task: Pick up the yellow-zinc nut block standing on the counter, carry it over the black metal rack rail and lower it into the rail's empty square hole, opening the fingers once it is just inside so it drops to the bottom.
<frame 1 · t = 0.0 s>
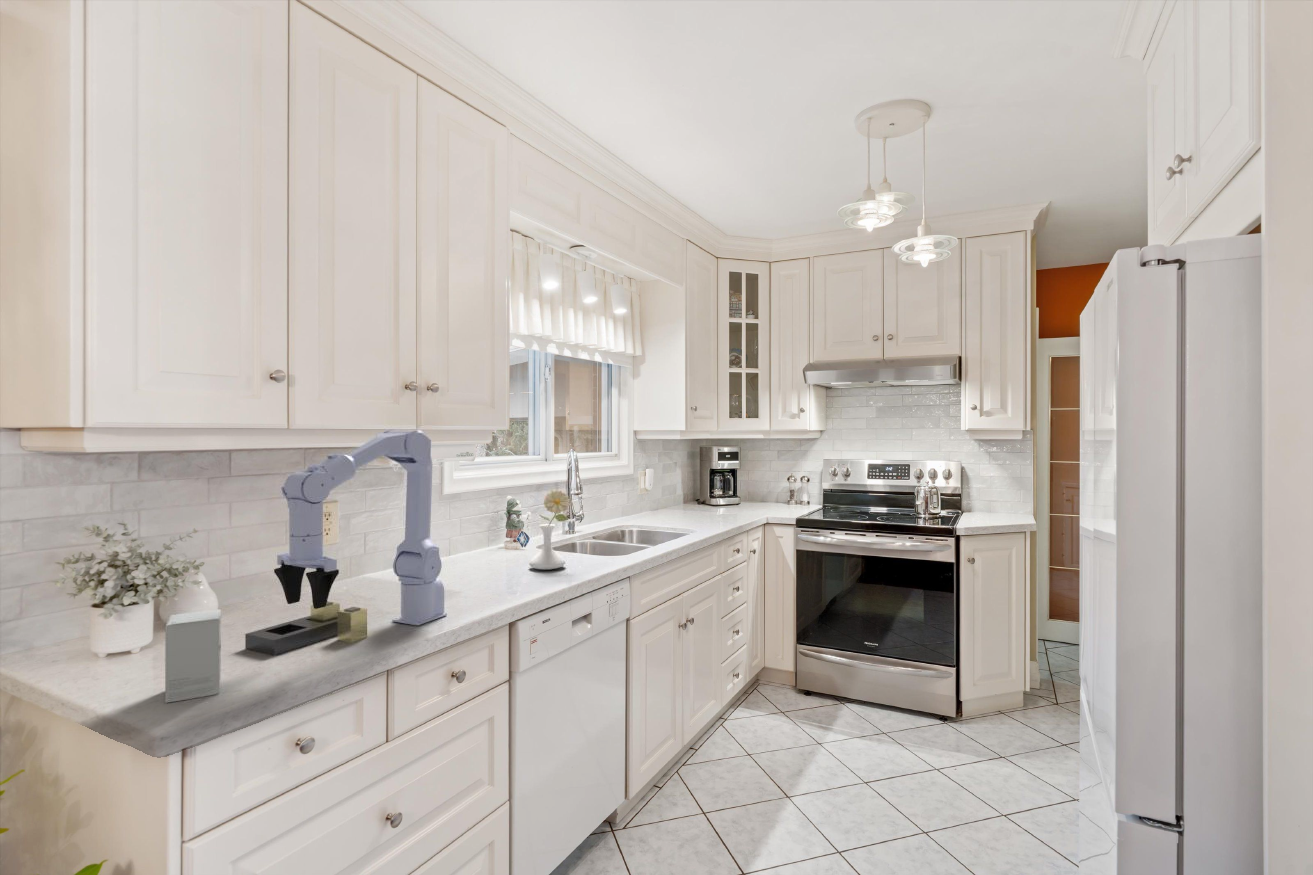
hand: (306, 605, 125), 10 cm above the countertop, fingers open, 7 cm apart
supplement box: (194, 692, 109), on the countertop
nut block: (352, 638, 137), on the countertop
rack rail: (306, 637, 137), on the countertop
flower in vase: (549, 569, 207), on the countertop
seated nut: (325, 631, 141), resting in rack rail
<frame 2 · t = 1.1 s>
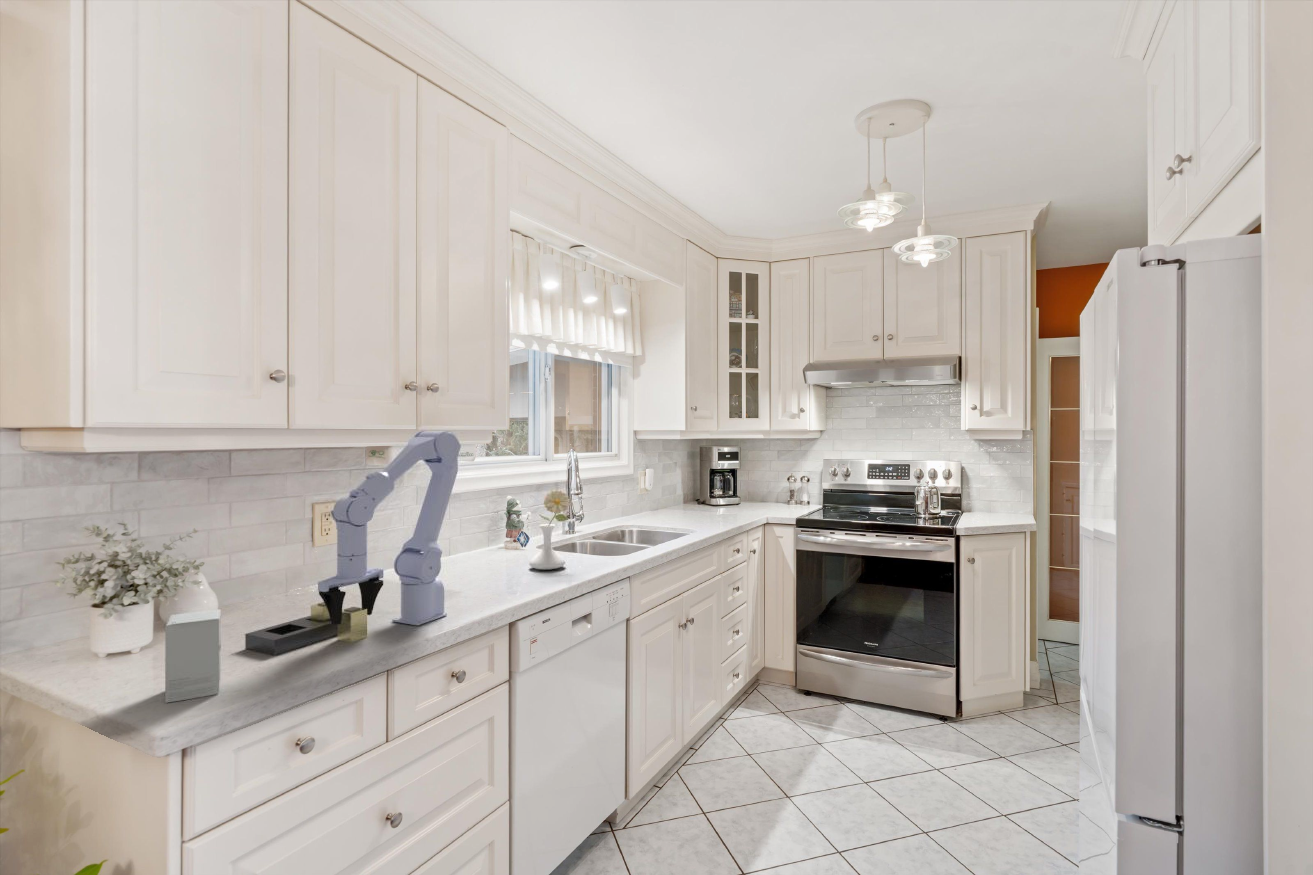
hand: (352, 618, 137), 4 cm above the countertop, fingers open, 7 cm apart
nothing on the countertop moved.
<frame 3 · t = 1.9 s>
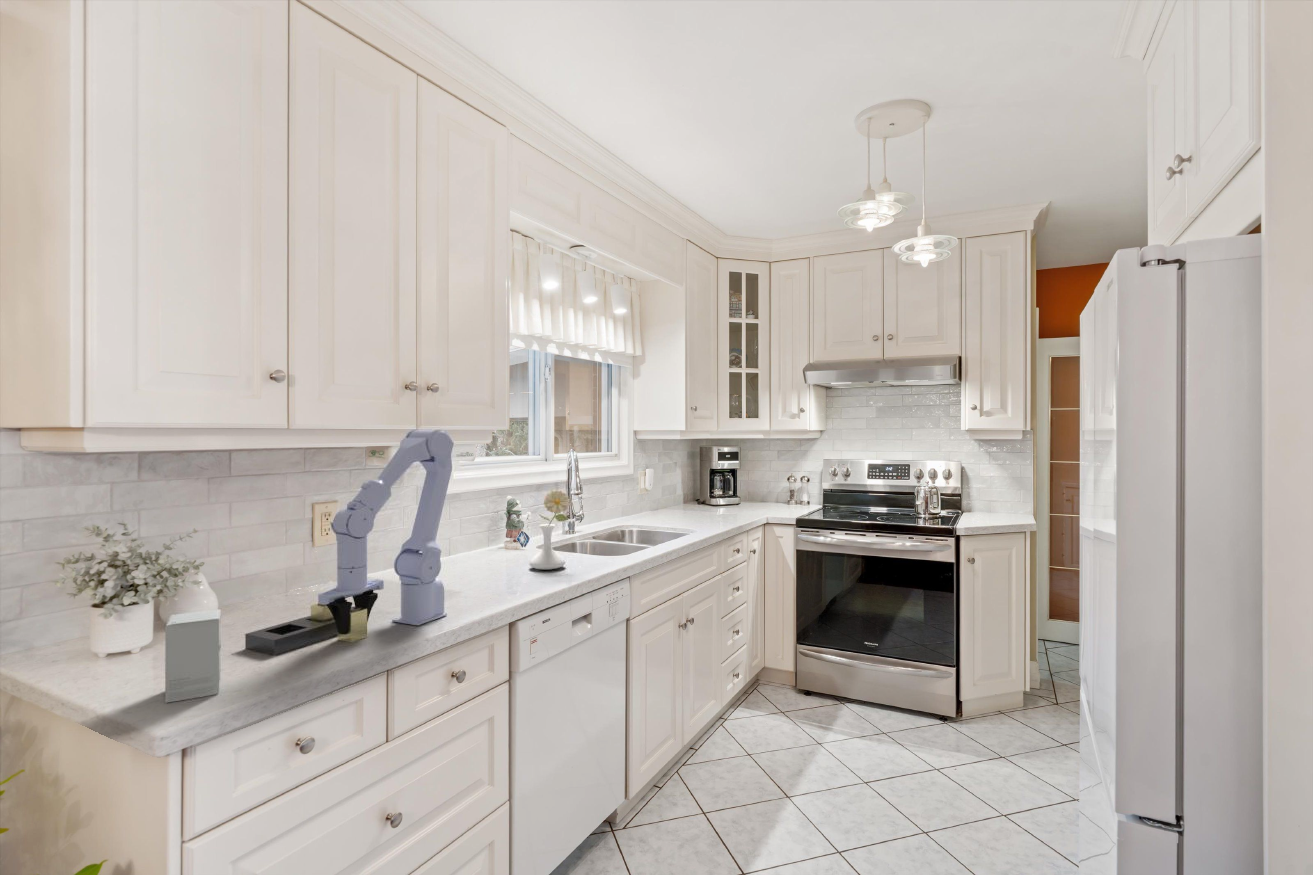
hand: (352, 630, 137), 2 cm above the countertop, fingers closed on nut block, 4 cm apart
nut block: (352, 638, 137), on the countertop, touching gripper
everything else where it was.
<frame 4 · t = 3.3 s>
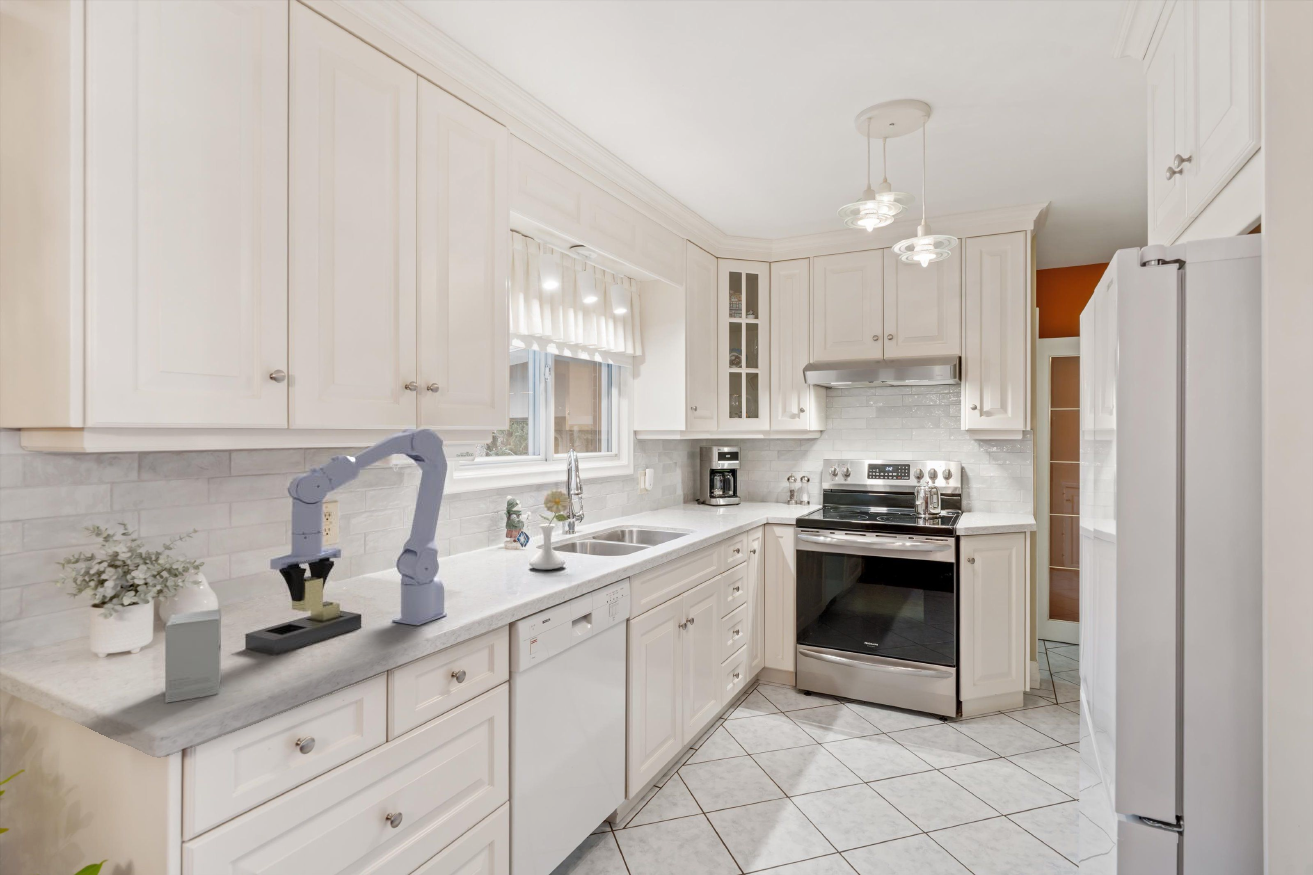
hand: (307, 598, 134), 9 cm above the countertop, fingers closed on nut block, 4 cm apart
nut block: (307, 608, 134), point 7 cm above the countertop, touching gripper
everything else where it was.
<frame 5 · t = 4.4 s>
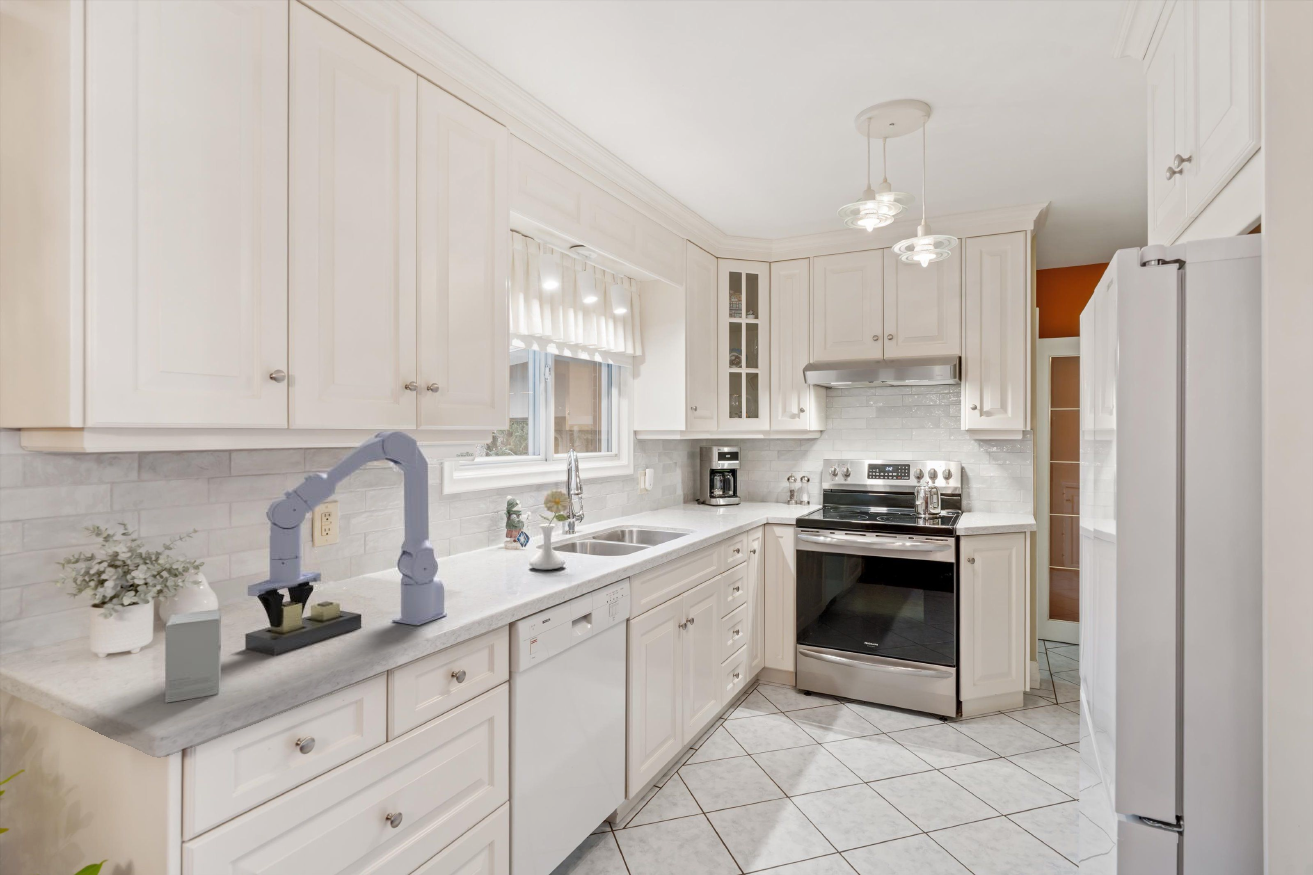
hand: (286, 623, 133), 4 cm above the countertop, fingers closed on nut block, 4 cm apart
nut block: (286, 633, 133), point 2 cm above the countertop, touching gripper
everything else where it was.
when the fingers open (4 cm above the countertop, at t = 5.0 s): nut block drops 1 cm, resting in rack rail.
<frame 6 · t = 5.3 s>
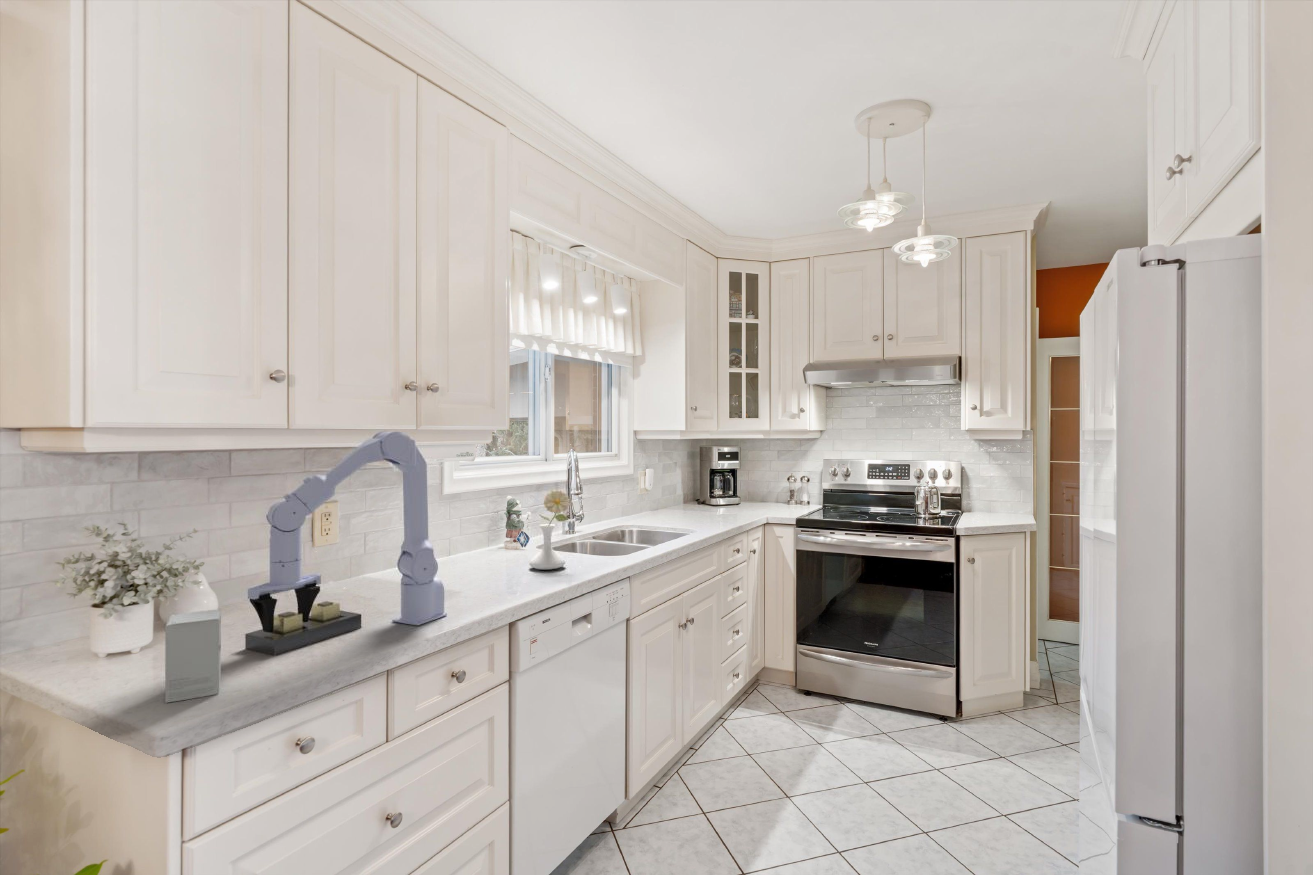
hand: (286, 626, 133), 4 cm above the countertop, fingers open, 7 cm apart
nut block: (286, 644, 133), resting in rack rail
everything else where it was.
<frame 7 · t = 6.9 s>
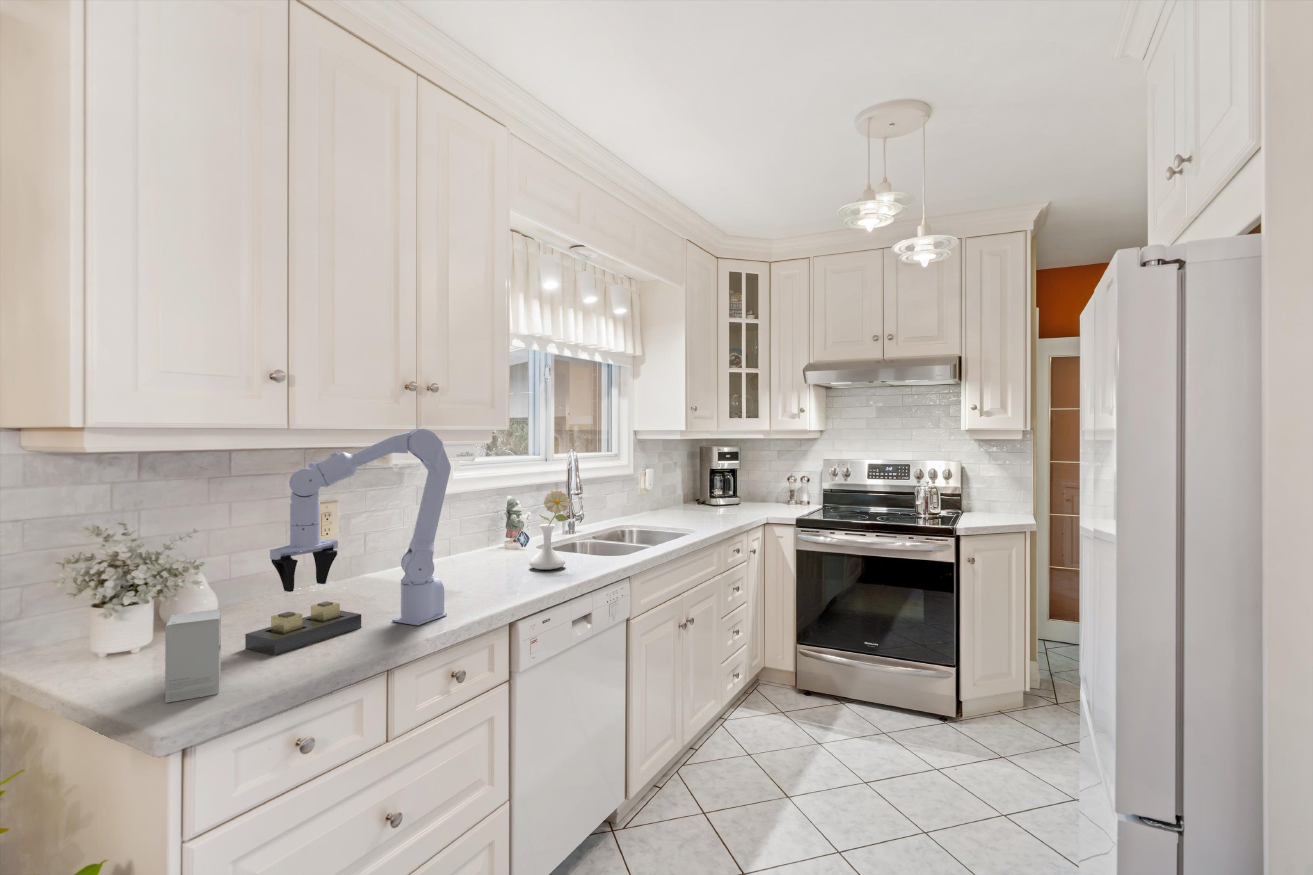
hand: (305, 587, 140), 10 cm above the countertop, fingers open, 7 cm apart
nothing on the countertop moved.
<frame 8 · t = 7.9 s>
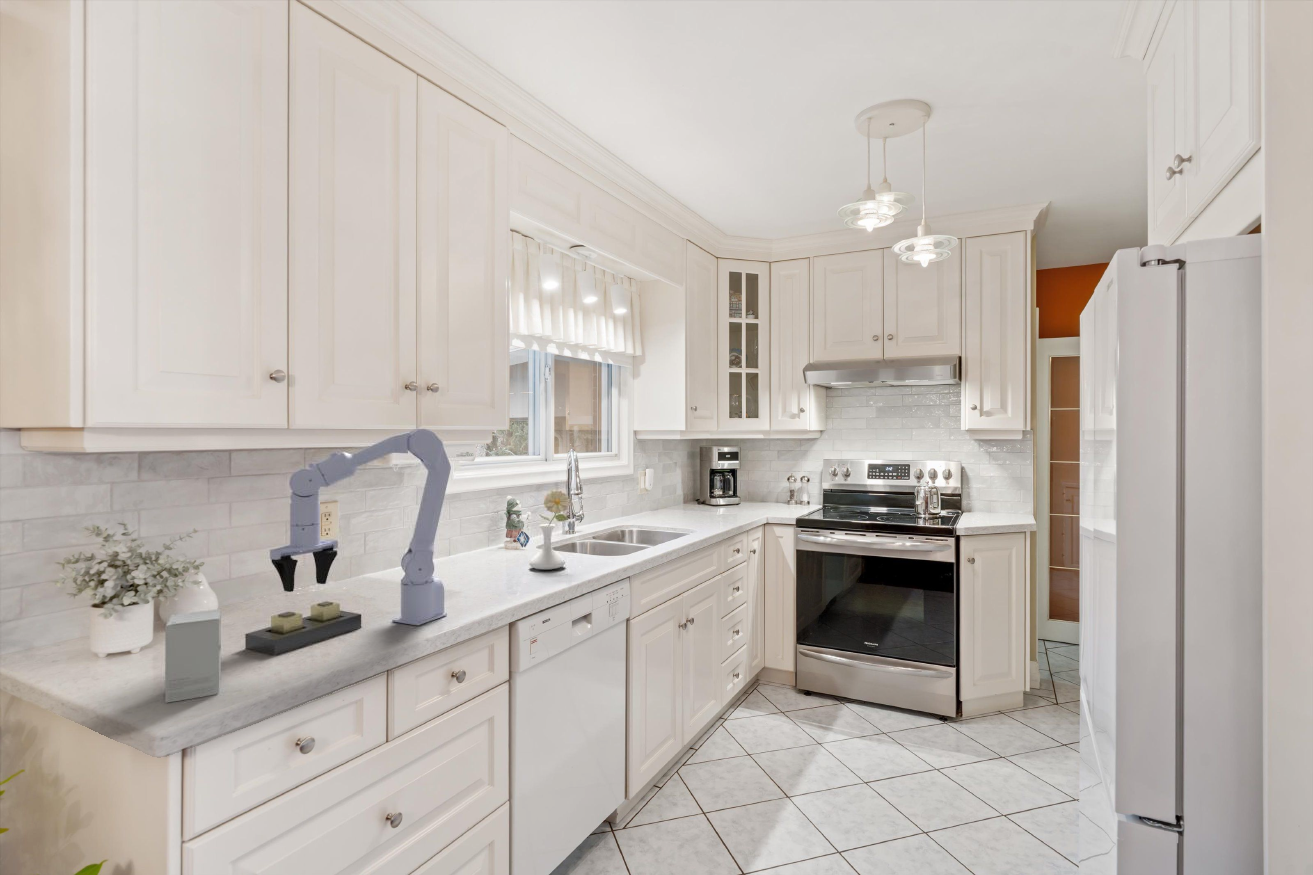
hand: (305, 587, 140), 10 cm above the countertop, fingers open, 7 cm apart
nothing on the countertop moved.
at the end: nut block 0.2 cm from the target spot on the rack rail, point 0.0 cm above the rack rail's base; nut block tilted 0°; the gripper is holding nothing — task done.
